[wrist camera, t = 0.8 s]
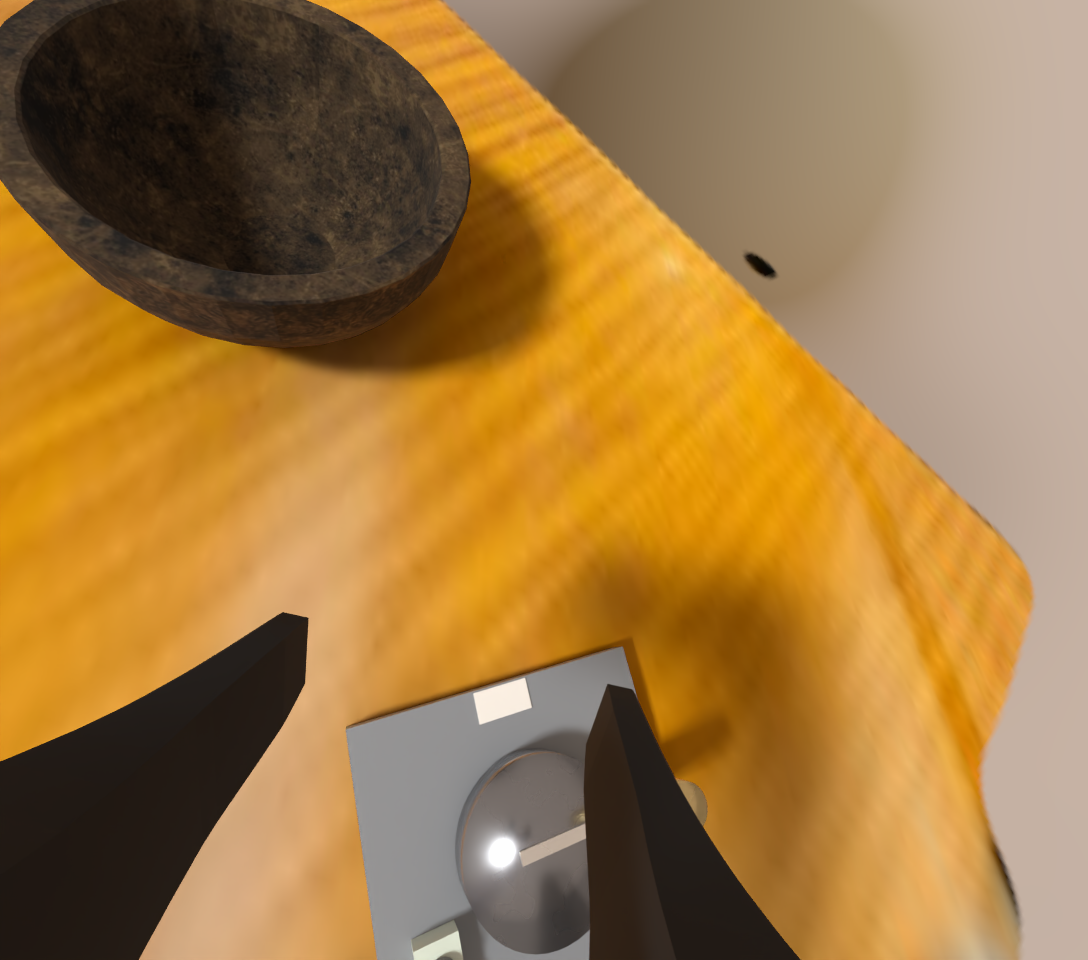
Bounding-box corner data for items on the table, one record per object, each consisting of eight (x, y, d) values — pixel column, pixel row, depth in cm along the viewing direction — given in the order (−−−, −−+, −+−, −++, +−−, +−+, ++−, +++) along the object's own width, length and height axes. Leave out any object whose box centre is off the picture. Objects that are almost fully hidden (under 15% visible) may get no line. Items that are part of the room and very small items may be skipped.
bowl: (-3, 337, 28) (-169, 179, 19) (176, 95, 37) (119, -90, 28) (400, 450, 33) (416, 367, 24) (472, 214, 42) (503, 89, 33)
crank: (474, 967, 24) (498, 1027, 20) (440, 778, 26) (455, 797, 22) (679, 862, 28) (734, 893, 24) (636, 708, 30) (679, 713, 26)
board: (689, 919, 29) (730, 949, 26) (395, 1086, 23) (401, 1151, 20) (613, 647, 33) (640, 644, 30) (346, 727, 27) (344, 733, 24)
